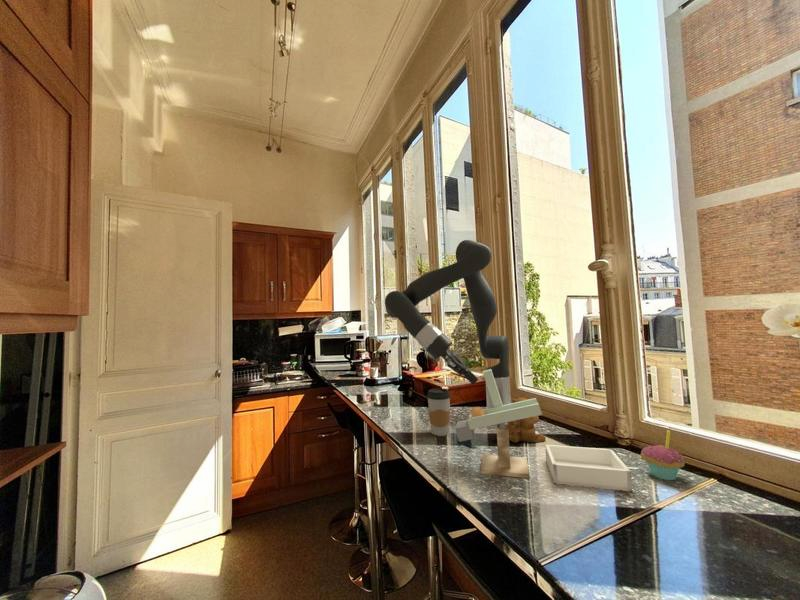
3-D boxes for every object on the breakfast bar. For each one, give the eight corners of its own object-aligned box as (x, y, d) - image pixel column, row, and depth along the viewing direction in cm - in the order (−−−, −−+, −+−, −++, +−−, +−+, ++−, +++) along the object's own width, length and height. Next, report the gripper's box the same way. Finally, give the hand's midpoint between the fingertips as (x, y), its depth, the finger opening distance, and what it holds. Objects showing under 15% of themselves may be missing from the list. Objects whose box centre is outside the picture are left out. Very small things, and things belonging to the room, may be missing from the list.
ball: (480, 418, 93) (472, 407, 94) (489, 414, 91) (481, 403, 92) (473, 424, 91) (466, 413, 91) (483, 421, 88) (475, 409, 89)
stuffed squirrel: (548, 440, 106) (546, 399, 107) (512, 447, 102) (510, 404, 102) (527, 431, 116) (524, 393, 116) (493, 437, 111) (491, 398, 112)
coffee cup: (451, 429, 120) (449, 388, 121) (452, 437, 112) (450, 393, 113) (428, 429, 121) (427, 388, 122) (428, 437, 113) (426, 393, 114)
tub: (553, 483, 79) (552, 464, 79) (546, 460, 91) (545, 444, 92) (632, 491, 74) (630, 471, 75) (612, 466, 87) (611, 449, 87)
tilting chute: (458, 442, 88) (441, 386, 90) (462, 431, 98) (446, 380, 100) (546, 425, 82) (525, 365, 84) (541, 414, 92) (523, 360, 94)
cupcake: (676, 470, 84) (672, 422, 84) (693, 486, 76) (689, 434, 76) (637, 466, 87) (633, 420, 87) (649, 481, 78) (645, 431, 79)
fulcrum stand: (480, 473, 85) (478, 430, 86) (482, 457, 95) (480, 419, 96) (529, 478, 82) (527, 433, 83) (526, 461, 92) (524, 421, 92)
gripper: (429, 347, 107) (469, 386, 103) (420, 351, 94) (465, 396, 90) (444, 331, 106) (485, 369, 102) (437, 332, 93) (483, 377, 89)
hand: (475, 381), depth 96 cm, fingers closed
